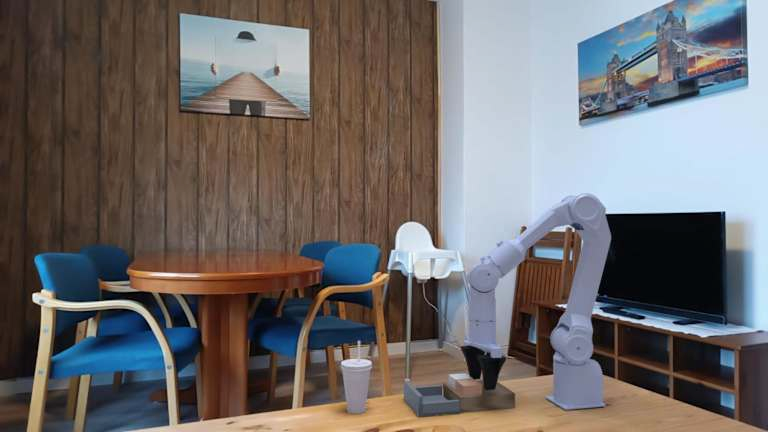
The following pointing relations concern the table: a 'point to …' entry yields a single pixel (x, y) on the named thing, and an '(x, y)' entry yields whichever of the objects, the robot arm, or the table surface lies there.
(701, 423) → the table surface
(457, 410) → the tray
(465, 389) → the tile terracotta
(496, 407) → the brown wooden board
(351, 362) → the smoothie
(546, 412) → the table surface
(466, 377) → the tile cream
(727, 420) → the table surface
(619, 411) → the table surface
